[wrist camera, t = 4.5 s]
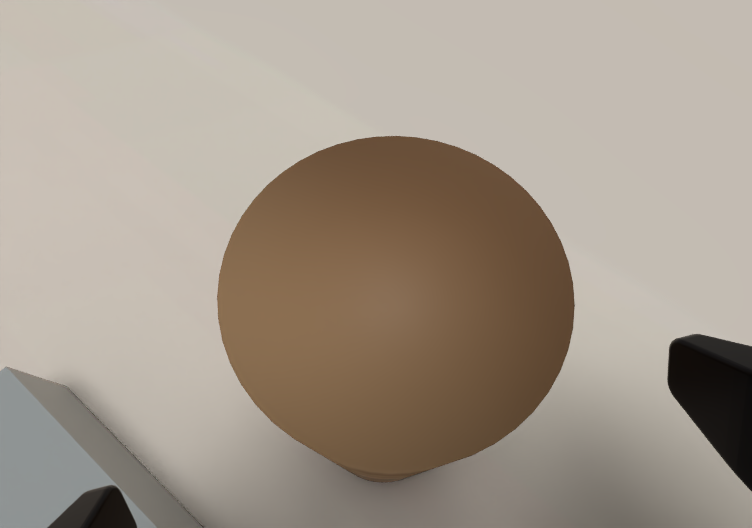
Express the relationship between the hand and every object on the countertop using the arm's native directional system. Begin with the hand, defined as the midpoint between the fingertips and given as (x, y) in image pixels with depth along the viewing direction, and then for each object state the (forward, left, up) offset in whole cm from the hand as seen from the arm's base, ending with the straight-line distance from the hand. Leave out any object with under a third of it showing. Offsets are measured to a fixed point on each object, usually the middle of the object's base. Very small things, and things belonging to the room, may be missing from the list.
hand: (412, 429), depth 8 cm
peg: (+1, +1, -9) cm, 9 cm away
